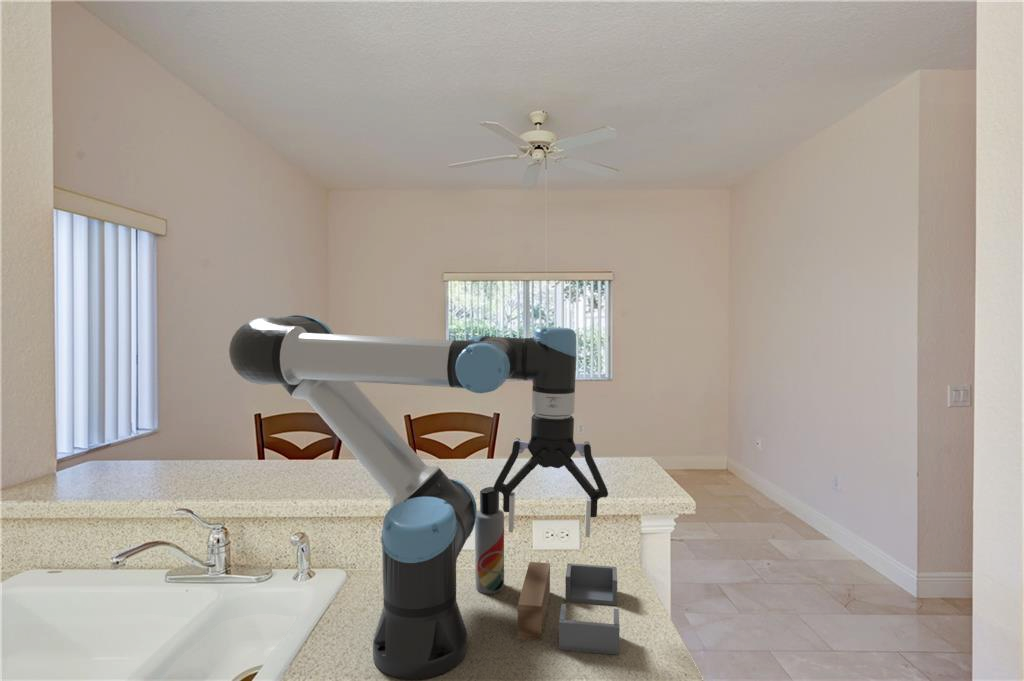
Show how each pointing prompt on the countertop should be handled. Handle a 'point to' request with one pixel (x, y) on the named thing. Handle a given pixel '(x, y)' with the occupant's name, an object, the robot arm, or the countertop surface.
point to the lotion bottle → (489, 543)
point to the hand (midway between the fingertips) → (549, 531)
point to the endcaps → (596, 589)
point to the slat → (534, 601)
